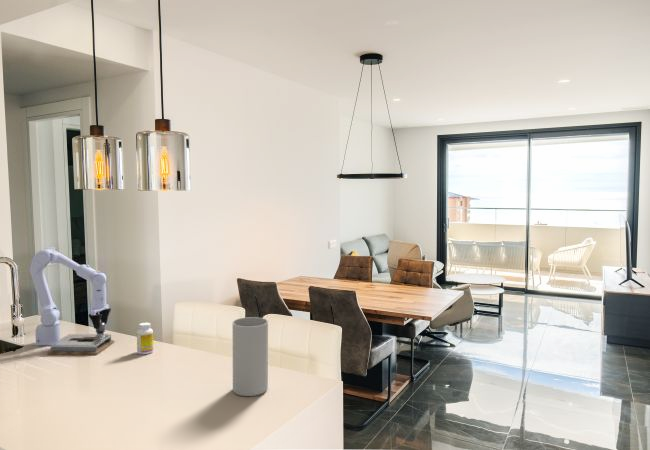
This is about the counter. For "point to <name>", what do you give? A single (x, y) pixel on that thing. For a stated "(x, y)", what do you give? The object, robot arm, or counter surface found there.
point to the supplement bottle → (144, 339)
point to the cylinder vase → (250, 356)
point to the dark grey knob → (101, 328)
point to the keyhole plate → (80, 343)
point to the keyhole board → (100, 349)
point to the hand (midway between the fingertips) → (100, 326)
